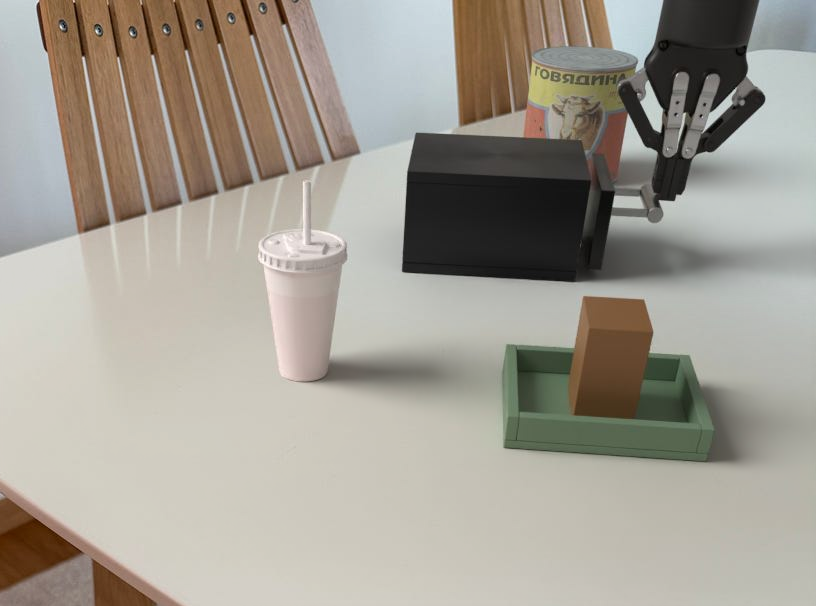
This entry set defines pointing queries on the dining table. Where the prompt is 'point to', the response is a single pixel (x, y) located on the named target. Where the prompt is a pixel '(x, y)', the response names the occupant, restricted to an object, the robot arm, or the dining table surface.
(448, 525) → the dining table surface
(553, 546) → the dining table surface
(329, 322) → the smoothie
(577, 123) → the canned food
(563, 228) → the black box
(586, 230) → the pull-out drawer box
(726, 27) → the robot arm
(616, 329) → the block
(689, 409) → the tray
